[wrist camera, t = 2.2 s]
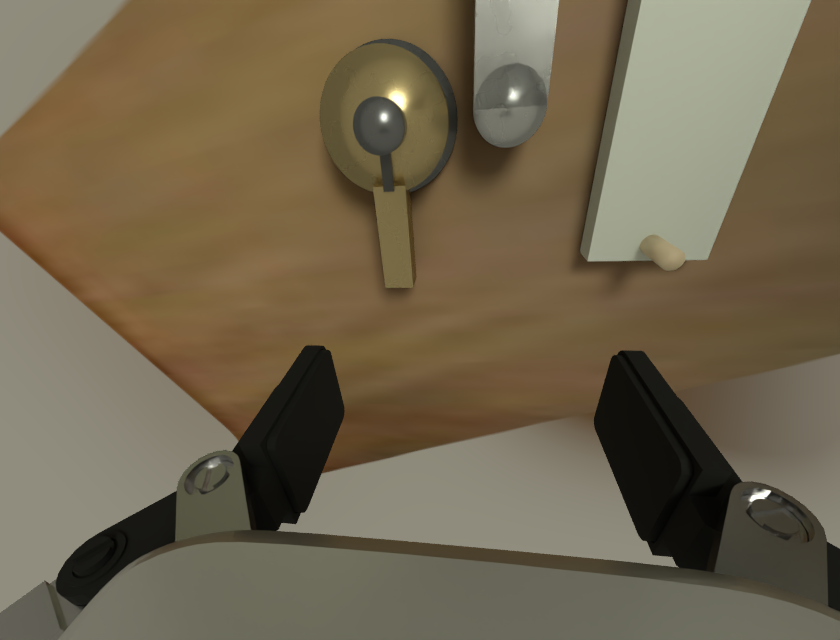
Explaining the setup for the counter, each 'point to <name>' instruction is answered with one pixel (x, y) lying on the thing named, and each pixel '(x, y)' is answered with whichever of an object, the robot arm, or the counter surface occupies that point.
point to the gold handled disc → (386, 139)
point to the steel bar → (512, 67)
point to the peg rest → (683, 123)
